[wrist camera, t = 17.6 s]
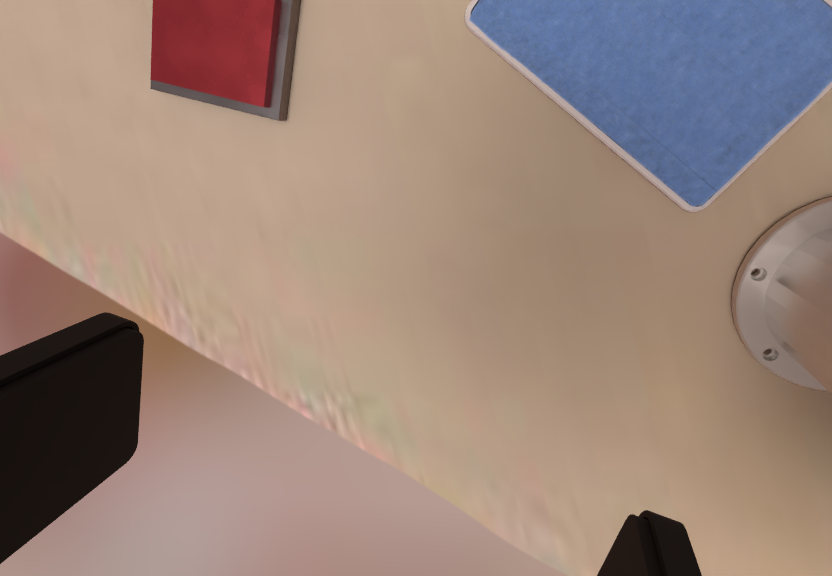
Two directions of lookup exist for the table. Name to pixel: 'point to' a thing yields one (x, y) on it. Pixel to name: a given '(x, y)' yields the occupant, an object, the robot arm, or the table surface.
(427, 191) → the table surface
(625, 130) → the blue flat pad
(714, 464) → the table surface
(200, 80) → the ink pad
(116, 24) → the table surface
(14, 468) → the robot arm
